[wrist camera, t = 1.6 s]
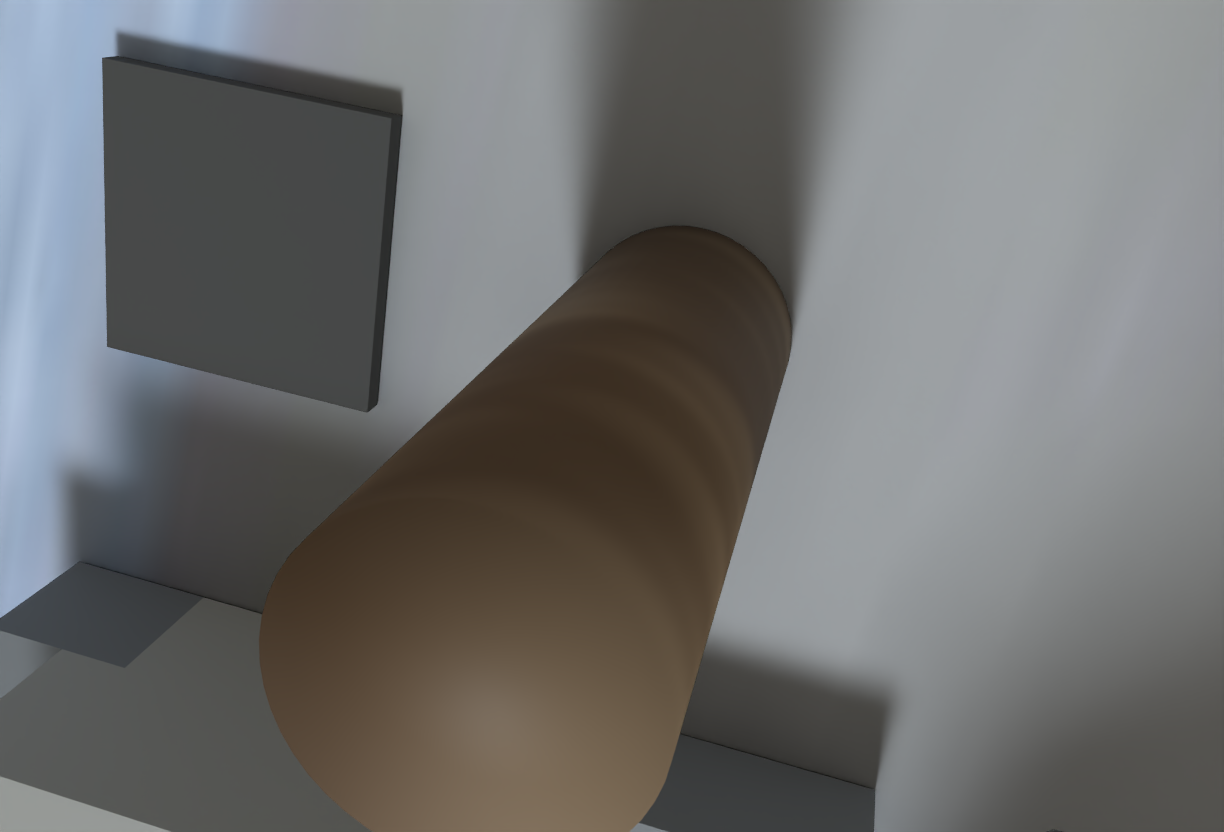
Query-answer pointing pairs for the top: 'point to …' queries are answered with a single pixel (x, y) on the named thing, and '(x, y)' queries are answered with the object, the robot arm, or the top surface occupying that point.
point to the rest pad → (247, 230)
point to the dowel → (539, 559)
